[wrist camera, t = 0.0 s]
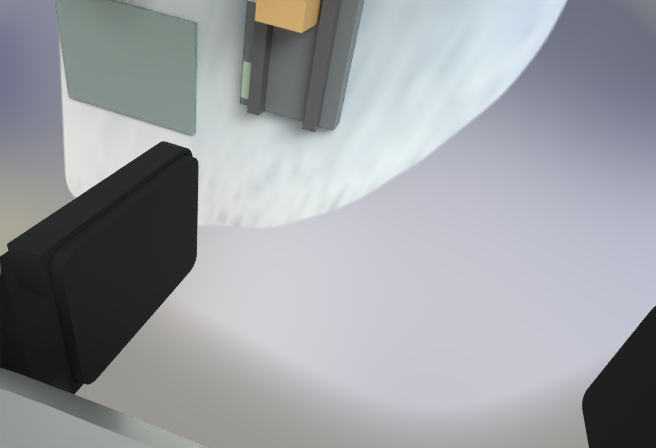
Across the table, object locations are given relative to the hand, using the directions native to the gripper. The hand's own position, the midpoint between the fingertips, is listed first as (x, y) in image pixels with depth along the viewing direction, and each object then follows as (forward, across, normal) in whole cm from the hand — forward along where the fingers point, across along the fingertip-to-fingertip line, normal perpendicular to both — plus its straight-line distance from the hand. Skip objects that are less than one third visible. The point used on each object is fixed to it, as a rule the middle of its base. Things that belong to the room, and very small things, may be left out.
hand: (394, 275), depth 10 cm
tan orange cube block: (+35, +14, +2) cm, 37 cm away
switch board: (+37, +14, +6) cm, 40 cm away
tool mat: (+37, +33, +13) cm, 51 cm away
